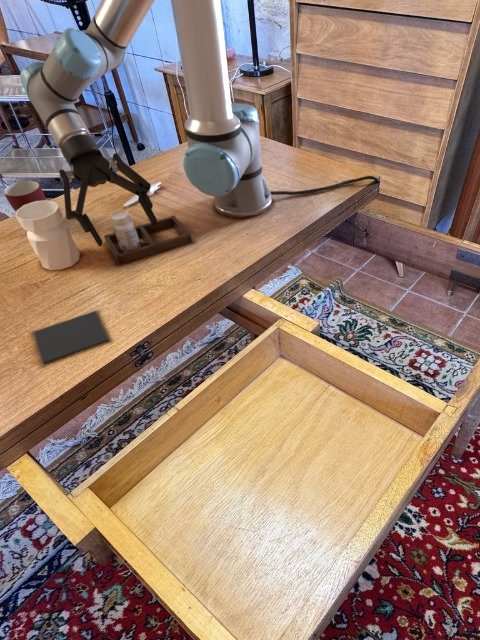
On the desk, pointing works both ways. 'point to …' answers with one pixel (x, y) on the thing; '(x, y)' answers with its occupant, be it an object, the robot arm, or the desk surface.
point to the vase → (48, 234)
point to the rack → (150, 240)
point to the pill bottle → (125, 231)
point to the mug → (23, 194)
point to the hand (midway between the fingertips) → (128, 233)
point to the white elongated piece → (152, 190)
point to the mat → (70, 337)
